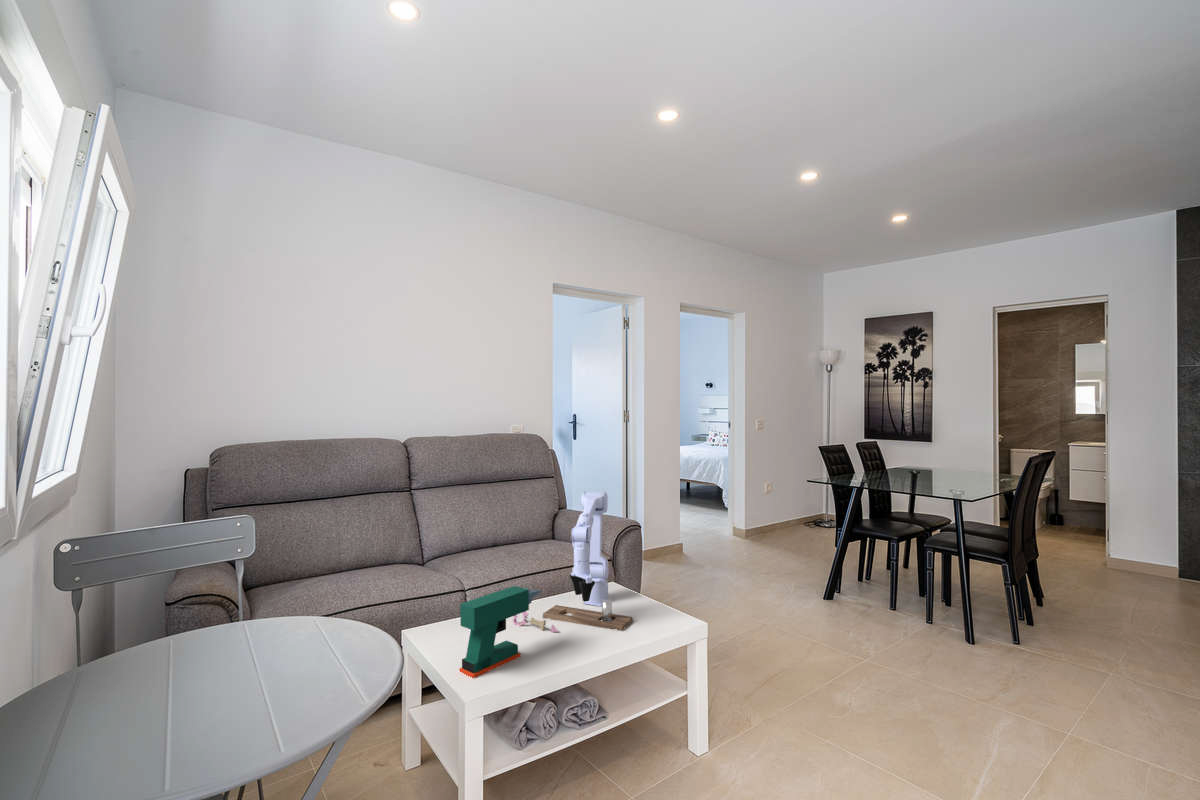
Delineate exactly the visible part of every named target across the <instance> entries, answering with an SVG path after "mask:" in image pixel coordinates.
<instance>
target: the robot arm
mask: <svg viewBox="0 0 1200 800" xmlns="http://www.w3.org/2000/svg"><path fill="white" fill-rule="evenodd" d="M580 498H581V499H580V500H581V502H580V503H581V507H582V508H583V511H582V512H581V514H579V516H578V518H577V521H576V525H574V527H572V529H571V542H572V548H573V567H572V568H571V570H572V572H570V574H569V578H570V580H571V582H572V586H573V589H574V590H573V591H574V593H575V596H579V595H580V596H581V599H582V603H583V604H584V605H590V606H597V607H602V600H603V599H611V597H609V582H608V580H607V579H608V578H609V574H610V573H609V571H610V570H609V561H608V559H607V558H606V557H605V556H604V555H602V547H603V546H602V543H603V542H602V541H603V540H602V538H603V536H602V535H603V534H602V533H603V532H602V531H603V515H604V514H605V513H607V511H608V503H609V502H608V493H607V492H605V491H604V492H603V491H602V492H601V491H600V492H599V491H595V492H594V491H583V492H582V494H581V497H580Z"/></svg>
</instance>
